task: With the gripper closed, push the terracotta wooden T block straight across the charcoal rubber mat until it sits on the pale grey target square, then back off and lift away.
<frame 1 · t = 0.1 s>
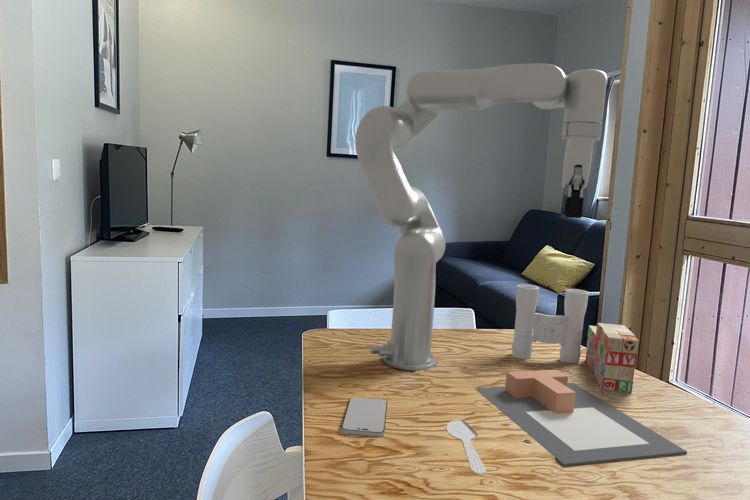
hand: (572, 216, 115), 37 cm above the table, tool pointing down, fingers open, 9 cm apart
spoon: (467, 447, 91), on the table
stack of blocks: (606, 377, 129), on the table
t block: (546, 400, 111), resting on mat
smartphone: (365, 419, 100), on the table
mat: (569, 418, 104), on the table
binoculars: (544, 359, 140), on the table
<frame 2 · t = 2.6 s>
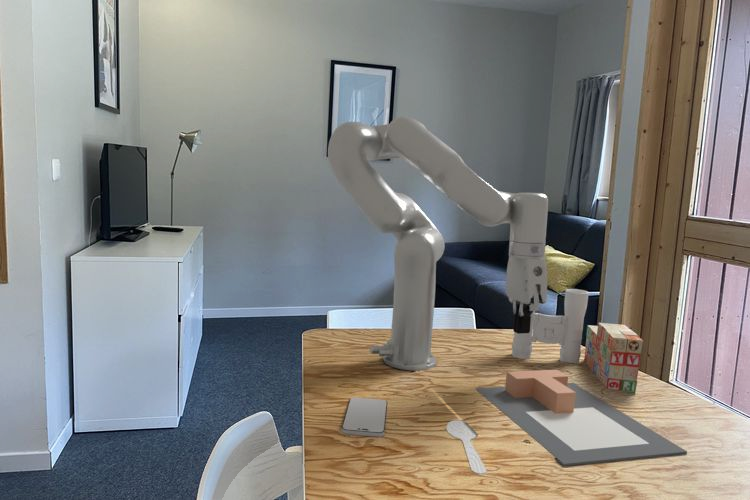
hand: (521, 332, 122), 11 cm above the table, tool pointing down, fingers closed
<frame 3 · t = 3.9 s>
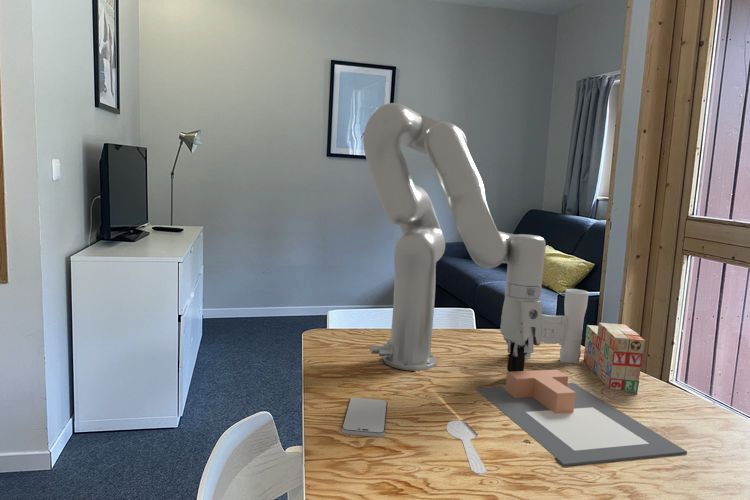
hand: (515, 371, 123), 2 cm above the table, tool pointing down, fingers closed
nothing on the table moved.
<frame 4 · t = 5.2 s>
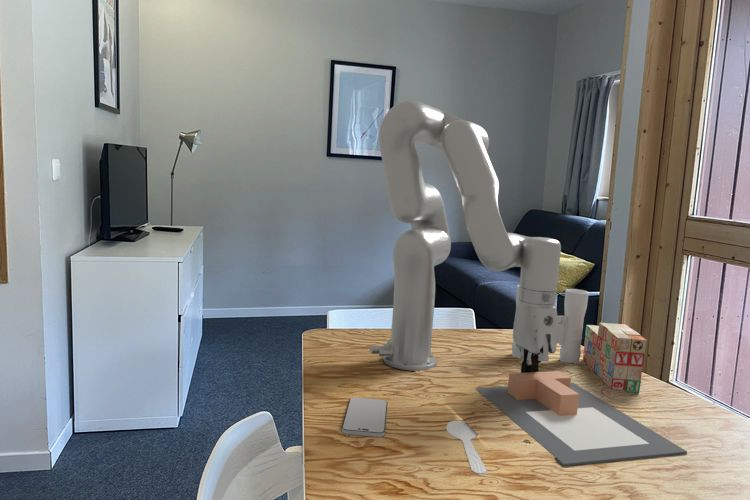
hand: (528, 380, 118), 2 cm above the table, tool pointing down, fingers closed
t block: (549, 402, 110), resting on mat, touching gripper
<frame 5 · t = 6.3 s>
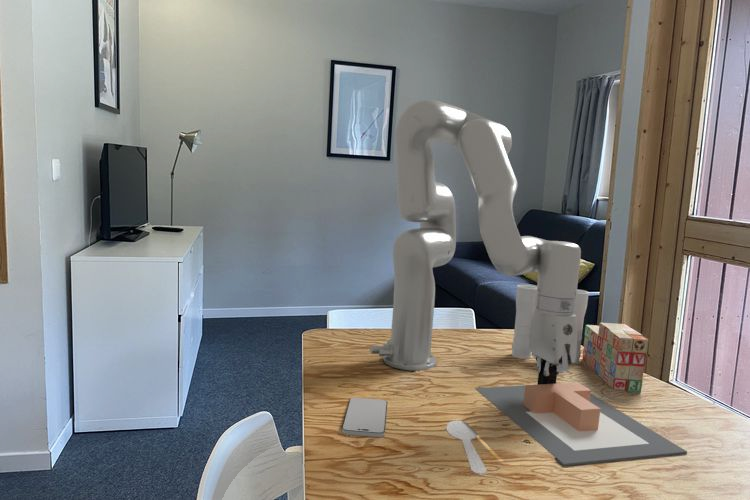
hand: (545, 392, 112), 2 cm above the table, tool pointing down, fingers closed
t block: (568, 416, 104), resting on mat, touching gripper
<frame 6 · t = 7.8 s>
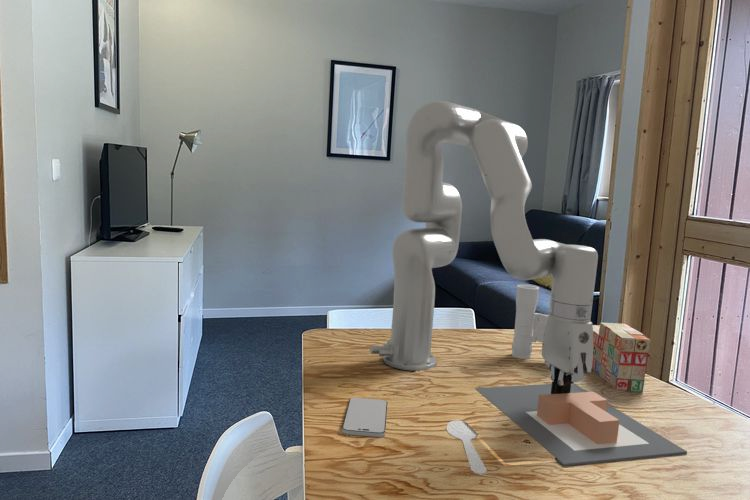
hand: (559, 402, 107), 2 cm above the table, tool pointing down, fingers closed
t block: (584, 427, 100), resting on mat, touching gripper
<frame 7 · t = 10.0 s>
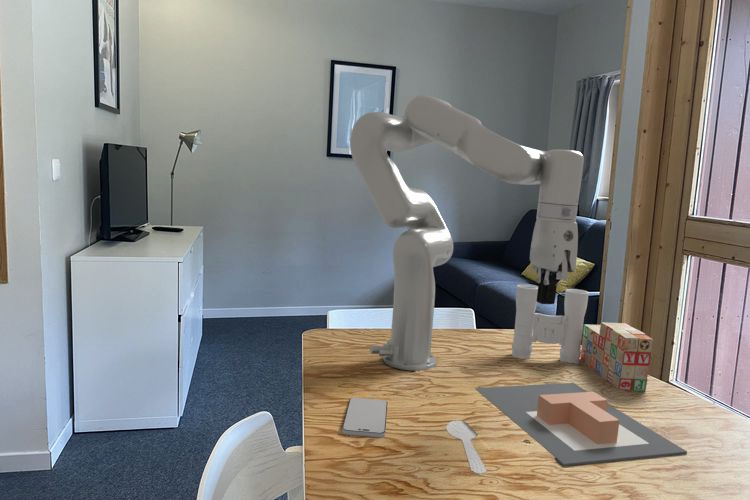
hand: (545, 303, 112), 20 cm above the table, tool pointing down, fingers closed
t block: (584, 427, 100), resting on mat
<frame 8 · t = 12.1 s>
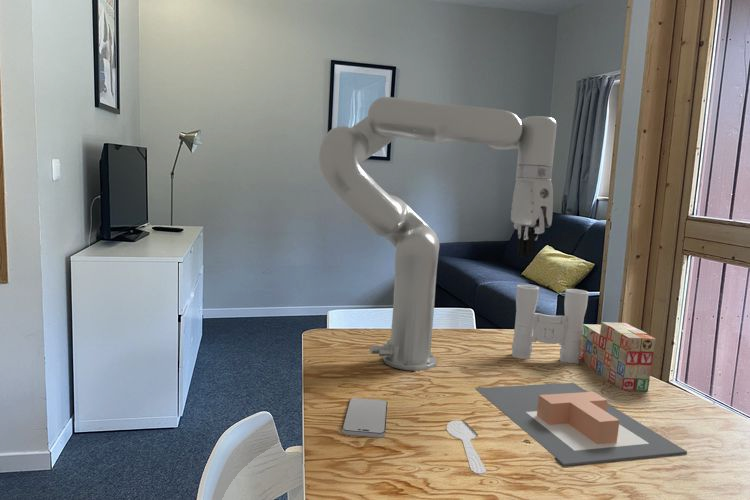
hand: (525, 257, 123), 27 cm above the table, tool pointing down, fingers closed
at the end: t block inside the target area (0.3 cm from its centre), resting on mat; t block tilted 0°; the gripper is holding nothing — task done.
